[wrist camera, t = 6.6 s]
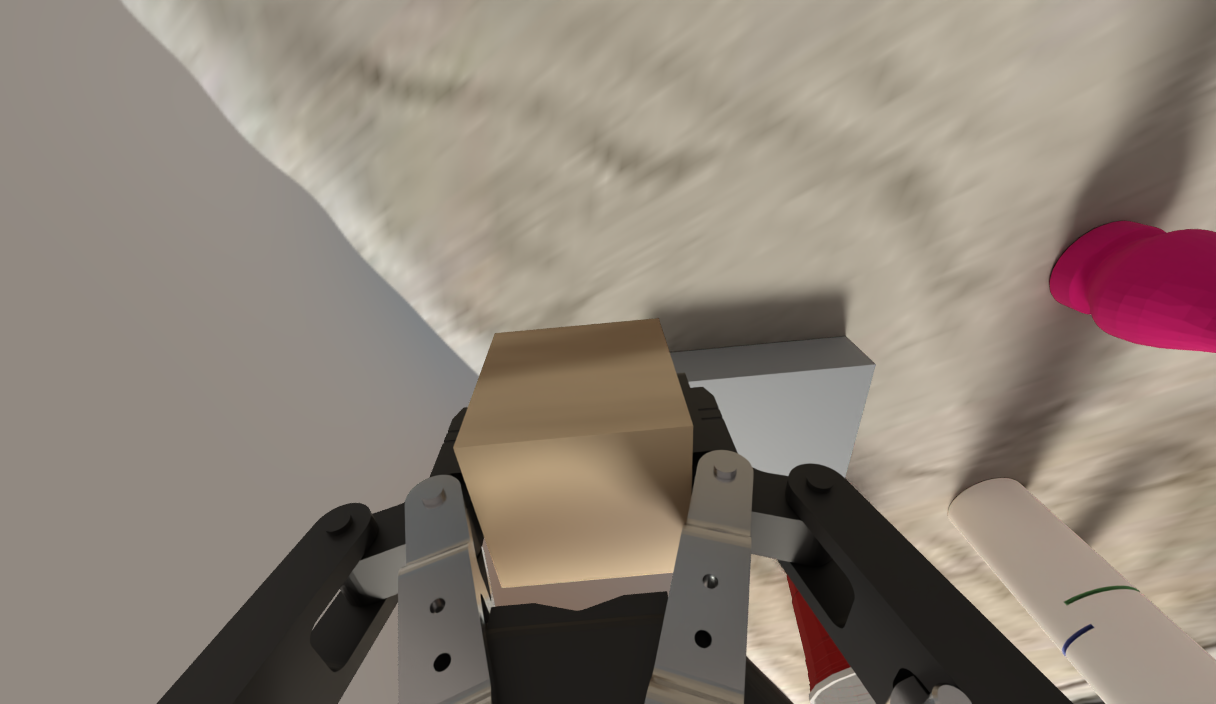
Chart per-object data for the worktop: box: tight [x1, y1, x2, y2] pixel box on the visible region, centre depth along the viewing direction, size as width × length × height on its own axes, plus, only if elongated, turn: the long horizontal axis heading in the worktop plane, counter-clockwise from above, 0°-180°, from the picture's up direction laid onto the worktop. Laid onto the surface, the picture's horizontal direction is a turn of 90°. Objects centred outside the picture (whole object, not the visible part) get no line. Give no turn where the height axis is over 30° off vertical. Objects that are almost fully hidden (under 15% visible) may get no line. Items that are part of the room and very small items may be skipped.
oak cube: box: [453, 318, 693, 588], centre depth 13 cm, size 5×5×5 cm
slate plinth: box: [670, 336, 876, 478], centre depth 35 cm, size 14×14×4 cm
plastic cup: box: [787, 575, 876, 704], centre depth 43 cm, size 11×11×12 cm
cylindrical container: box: [948, 478, 1216, 704], centre depth 34 cm, size 7×7×25 cm
